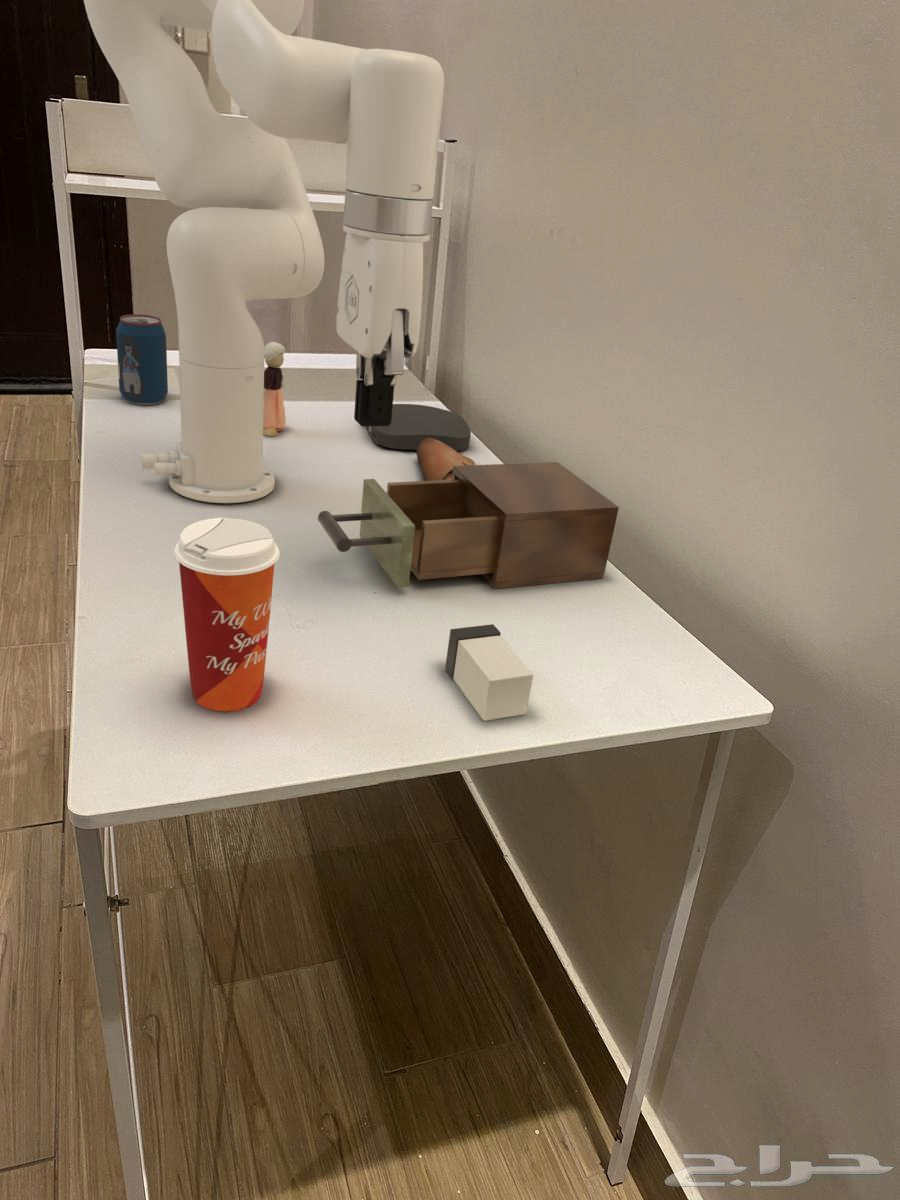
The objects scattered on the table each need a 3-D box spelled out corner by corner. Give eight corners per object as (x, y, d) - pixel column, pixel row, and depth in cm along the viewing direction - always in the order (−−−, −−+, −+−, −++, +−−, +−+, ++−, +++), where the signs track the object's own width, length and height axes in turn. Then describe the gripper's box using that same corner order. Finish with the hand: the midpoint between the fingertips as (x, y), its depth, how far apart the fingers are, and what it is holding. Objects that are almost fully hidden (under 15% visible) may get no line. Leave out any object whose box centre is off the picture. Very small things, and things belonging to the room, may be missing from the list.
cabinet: (494, 589, 96) (506, 514, 92) (444, 535, 106) (453, 465, 102) (603, 578, 101) (619, 507, 97) (545, 528, 112) (557, 461, 108)
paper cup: (228, 732, 69) (228, 568, 63) (157, 693, 73) (150, 534, 66) (295, 688, 76) (302, 535, 69) (227, 655, 79) (227, 506, 72)
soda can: (166, 393, 142) (164, 314, 136) (169, 407, 136) (167, 325, 130) (119, 392, 139) (114, 312, 134) (120, 406, 134) (115, 323, 128)
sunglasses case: (497, 510, 113) (477, 465, 110) (447, 534, 114) (424, 490, 111) (473, 460, 129) (454, 419, 126) (429, 482, 130) (409, 442, 126)
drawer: (342, 593, 89) (347, 529, 86) (309, 539, 99) (311, 481, 96) (507, 577, 96) (517, 518, 93) (461, 529, 106) (468, 474, 103)
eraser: (527, 714, 76) (535, 672, 74) (482, 721, 75) (489, 679, 73) (487, 663, 82) (493, 623, 81) (444, 669, 81) (450, 628, 79)
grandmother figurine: (280, 439, 129) (283, 350, 123) (253, 436, 129) (255, 346, 123) (290, 423, 136) (292, 337, 130) (264, 420, 135) (266, 334, 129)
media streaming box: (474, 454, 133) (477, 434, 132) (376, 451, 129) (377, 430, 128) (452, 422, 145) (454, 404, 144) (361, 418, 142) (362, 400, 140)
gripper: (321, 203, 83) (312, 400, 91) (374, 227, 71) (359, 451, 79) (398, 209, 86) (383, 400, 94) (462, 233, 74) (438, 449, 82)
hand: (372, 423), depth 87 cm, fingers closed
